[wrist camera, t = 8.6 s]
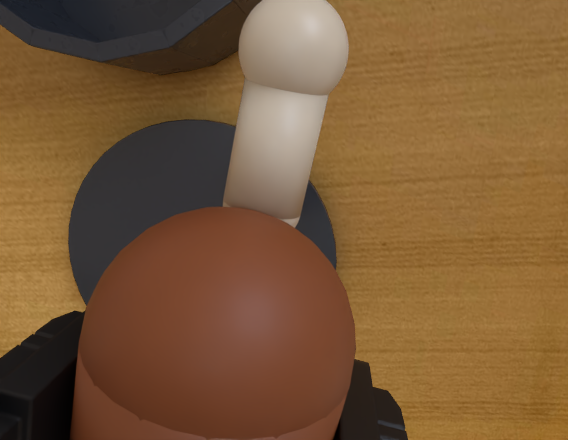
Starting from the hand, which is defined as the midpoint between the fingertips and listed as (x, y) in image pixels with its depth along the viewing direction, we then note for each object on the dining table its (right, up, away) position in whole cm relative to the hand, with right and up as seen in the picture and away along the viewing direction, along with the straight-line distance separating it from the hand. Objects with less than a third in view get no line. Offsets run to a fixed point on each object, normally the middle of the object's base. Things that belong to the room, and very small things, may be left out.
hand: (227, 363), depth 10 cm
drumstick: (+1, +2, 0) cm, 2 cm away
